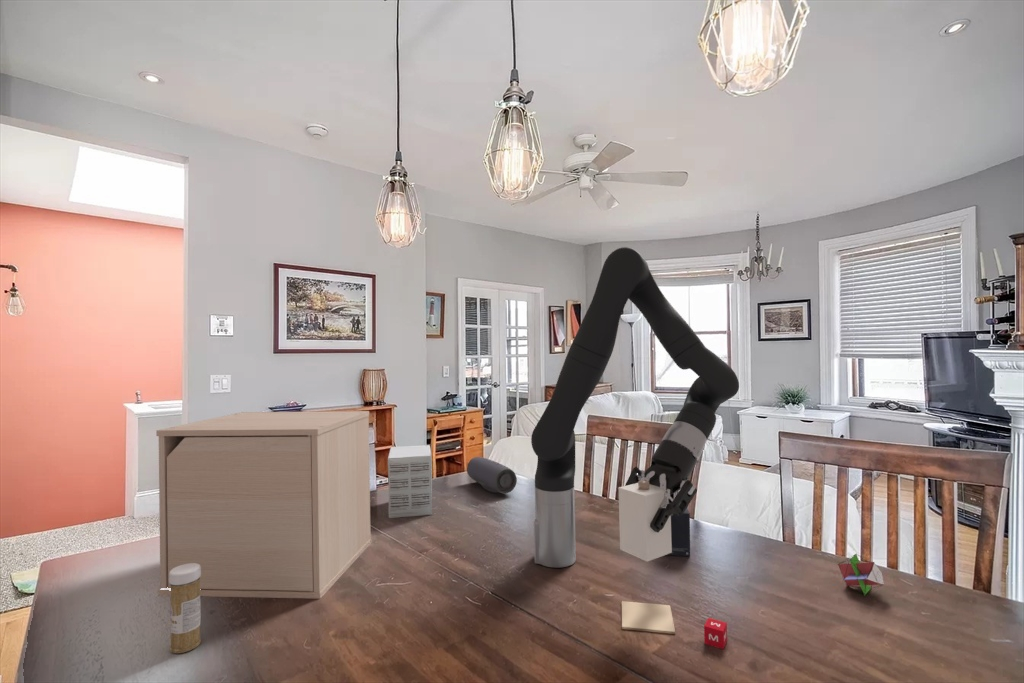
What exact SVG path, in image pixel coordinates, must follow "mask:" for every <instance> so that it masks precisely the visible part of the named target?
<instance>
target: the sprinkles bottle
mask: <svg viewBox="0 0 1024 683" xmlns="http://www.w3.org/2000/svg"><path fill="white" fill-rule="evenodd" d="M200 576H201V566H200V565H199V564H197V563H189V564H184V565H180V566H177V567H175V568H173V569H172V570H171V571H170V572H169V583H170V586H171V596H170V604H169V607H170V609H169V610H170V615H169V616H170V617H169V618H170V620H169V621H170V622H169V623H170V624H169V628H170V629H169V630H170V646H169V650H170V652H171V653H173V654H183V653H186V652H189V651H193V650H194V649H196V648H197V647H199V645H201V642H202V638H201V619H202V618H201V616H202V615H201V612H202V611H201V609H202V608H201V596H200Z"/></svg>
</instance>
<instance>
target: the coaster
mask: <svg viewBox="0 0 1024 683" xmlns="http://www.w3.org/2000/svg"><path fill="white" fill-rule="evenodd" d="M621 630H627V631H628V630H630V631H638V632H639V631H640V632H650V633H651V632H652V633H660V634H669V635H670V634H671V635H676V629H675V624H674V619H673V613H672V609H671V605H669V604H660V603H648V602H647V603H646V602H635V601H625V600H622V601H621Z"/></svg>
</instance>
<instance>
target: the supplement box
mask: <svg viewBox="0 0 1024 683" xmlns="http://www.w3.org/2000/svg"><path fill="white" fill-rule="evenodd" d="M432 463H433V460H432V449H431V445H430V444H423V445H418V444H417V445H405V446H404V445H403V446H391V447H390V448H389V453H388V457H387V473H388V474H387V475H388V476H387V478H388V479H387V480H388V518H389V519H394V518H406V517H420V516H432V515H433V510H432V508H433V507H432V506H433V505H432V504H433V496H432V495H433V493H432V492H433V491H432V489H433V483H432V482H433V478H432V477H433V474H432V472H433V470H432V468H433V467H432Z"/></svg>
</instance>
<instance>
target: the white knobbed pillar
mask: <svg viewBox="0 0 1024 683" xmlns="http://www.w3.org/2000/svg"><path fill="white" fill-rule="evenodd" d="M665 491H667V492H668V494H669V495H670V489H667V490H664V489H660V487H658V486H654V485H651V484H649V481H645V480H641V481H638V483H635V484H631V485H627V486H625V485H623V486H619V487H618V521H619V524H618V525H619V550H620V551H623V552H624V553H627V554H629V555H632V556H634V557H635V558H638V559H640V560H642V561H643V562H644V561H645V562H647V563H648V562H650V561H653V560H656V559H658V558H661V557H664V556H668V555H667V554H669V553H672V543H671V516H669V518H668V520H667V522H666V524H665V525H664V527H663V529H662V530H660V531H659V532H655V531H654V530H653V529H652V528H651V527H650V523H651V521H652V520H653V518H654V516H655V514H656V512H657V510H658V509H659V508H662V507H661V502H662V500H663V499H664V493H665ZM668 504H669V501H668Z"/></svg>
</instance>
